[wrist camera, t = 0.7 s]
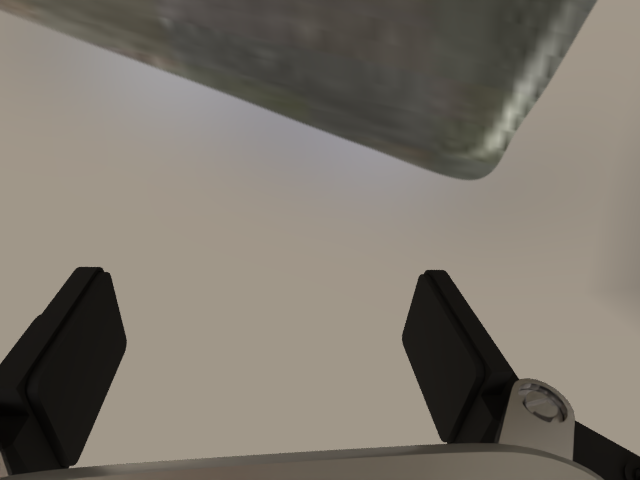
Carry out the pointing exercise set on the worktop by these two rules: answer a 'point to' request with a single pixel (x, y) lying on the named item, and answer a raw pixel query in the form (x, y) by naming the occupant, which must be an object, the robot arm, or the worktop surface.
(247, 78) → the worktop surface
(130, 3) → the worktop surface
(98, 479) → the robot arm
